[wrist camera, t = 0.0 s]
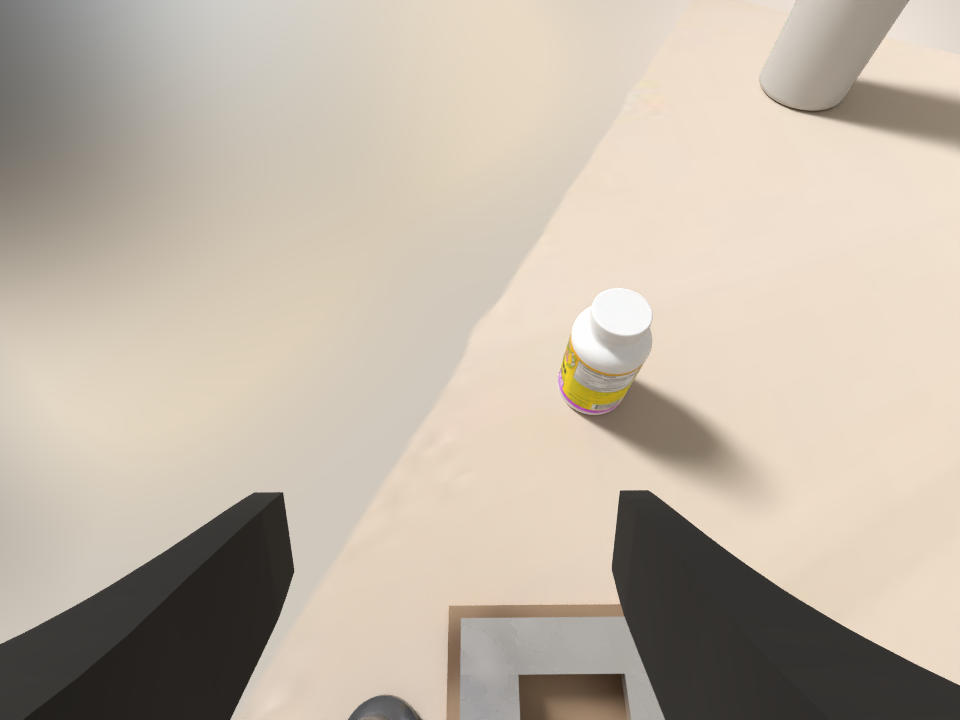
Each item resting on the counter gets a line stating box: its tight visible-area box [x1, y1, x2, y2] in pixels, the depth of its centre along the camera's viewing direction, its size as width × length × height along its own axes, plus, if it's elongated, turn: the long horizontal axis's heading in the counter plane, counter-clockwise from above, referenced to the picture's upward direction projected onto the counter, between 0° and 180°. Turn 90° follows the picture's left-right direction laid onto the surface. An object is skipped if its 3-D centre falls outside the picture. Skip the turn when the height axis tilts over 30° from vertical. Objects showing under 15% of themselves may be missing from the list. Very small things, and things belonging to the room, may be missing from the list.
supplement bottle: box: [558, 288, 653, 415], centre depth 43 cm, size 7×7×13 cm
